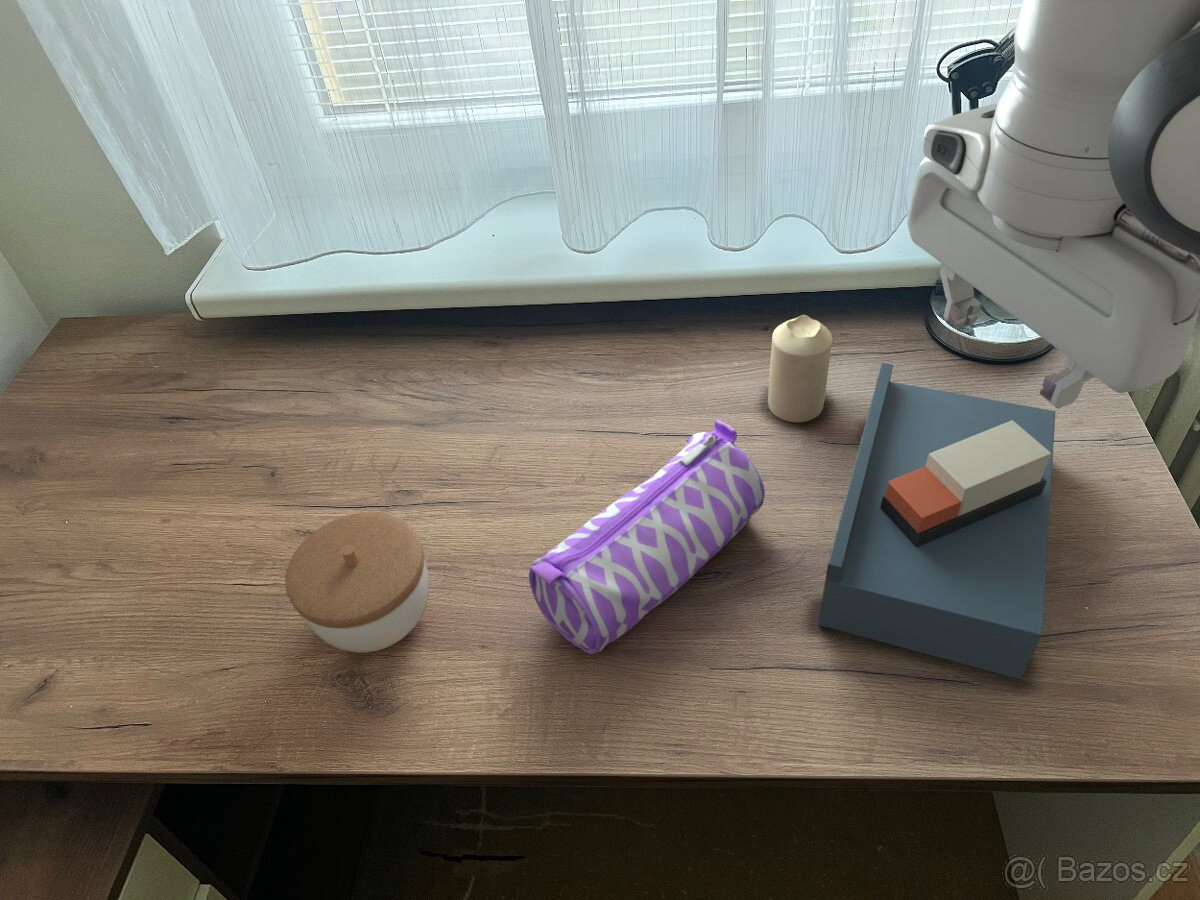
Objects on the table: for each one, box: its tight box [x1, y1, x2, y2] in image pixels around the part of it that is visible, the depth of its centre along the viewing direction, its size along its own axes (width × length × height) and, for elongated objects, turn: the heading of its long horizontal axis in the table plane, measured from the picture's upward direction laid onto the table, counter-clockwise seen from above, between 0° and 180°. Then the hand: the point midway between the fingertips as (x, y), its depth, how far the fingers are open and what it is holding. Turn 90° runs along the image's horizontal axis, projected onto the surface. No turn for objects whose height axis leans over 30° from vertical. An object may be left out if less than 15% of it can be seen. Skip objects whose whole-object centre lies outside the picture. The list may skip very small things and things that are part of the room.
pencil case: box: [528, 419, 766, 655], centre depth 72 cm, size 22×9×10 cm, turn 136°
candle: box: [767, 314, 833, 423], centre depth 84 cm, size 6×6×10 cm
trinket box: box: [284, 511, 430, 653], centre depth 70 cm, size 11×11×9 cm
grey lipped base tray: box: [817, 362, 1056, 680], centre depth 72 cm, size 15×24×8 cm, turn 158°
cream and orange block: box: [880, 420, 1051, 547], centre depth 68 cm, size 12×5×5 cm, turn 113°
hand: (1005, 358), depth 60 cm, fingers open, 8 cm apart
